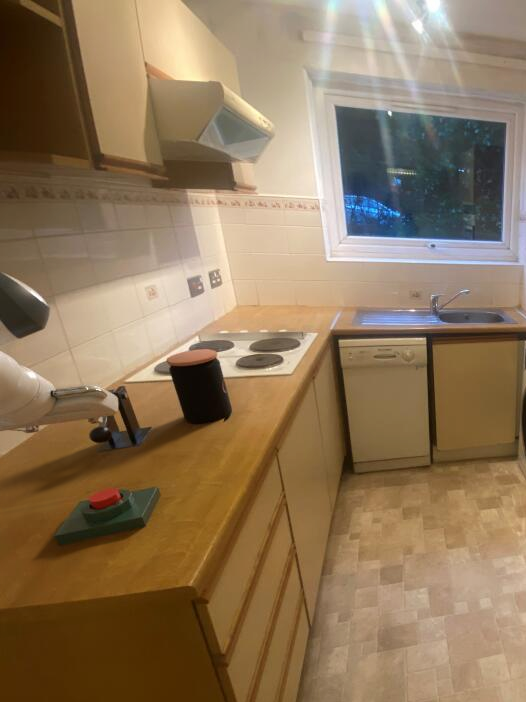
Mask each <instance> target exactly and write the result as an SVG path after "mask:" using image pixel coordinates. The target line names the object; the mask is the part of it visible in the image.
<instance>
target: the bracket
mask: <svg viewBox="0 0 526 702" xmlns="http://www.w3.org/2000/svg"><path fill="white" fill-rule="evenodd" d="M101 388H102V389H104V388H103V387H101ZM113 394H114V395H115V396H117V398H118V411H119V414H120V416H121V419H122V422H123V424H124V427H125V429H126V430H120V428H119V425H118V422H117V420H116V418H115V415H112V416H110V418H109V422H108V425H107V428H109V429H110V430H111V432H112V437H111V438H110V440H108V441H107V442H104V443H102V445H101V446H100V447H99V449H97V451H96V453H103V452H108V451H109V452H110V451H115V450H120V449H126V448H127V449H128V448H131V447H138V446H141V445H142V444H143V442H144V440H145V439H146V437H147V436H148V434H149V433H150V431H151V430H152V429H153V426H147V427H140V424H139V422H138V419H137V416H136V413H135V410H134V408H133V405H132V402H131V400H130V397H129V394H128V390H127V388H126V386H125V385H120V386H118V387H117V388H116V389H115V391H114V392H113Z"/></svg>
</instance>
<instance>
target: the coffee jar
mask: <svg viewBox="0 0 526 702" xmlns="http://www.w3.org/2000/svg"><path fill="white" fill-rule="evenodd" d="M217 357H218V352H217V350H215V349H208V348H207V349H204V348H203V349H192V350H187V351H181V352H178V353H175V354H172V355H170V356H169V357H167V358H166V359H165V360H166V363H167V364H168V365H169V366H170V367H169V370H168V371H169V374H170V377H171V380H172V382H173V386H174V390H175V393H176V396H177V399H178V402H179V405H180V408H181V411H182V415H183V419H184V421H185V422H186V423H187V424H190V425H205V424H211V423H214V422H218V421H220V420H223V422H225V421H227V420H229V418H230V417H231V415H232V413H233V407H232V403H231V399H230V397H229V392H228V389H227V384H226V380H225V378H224V373H223V370H222V366H221V362H220V360H219V359H217Z"/></svg>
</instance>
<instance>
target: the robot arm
mask: <svg viewBox="0 0 526 702" xmlns="http://www.w3.org/2000/svg"><path fill="white" fill-rule="evenodd" d="M50 313H51V307H49V305H48V303H47V302H46V300H45V299H44V298H43V296H42V295H41V294H39V293H38V292H37V291H36V290H35V289H33V288H32V287H31V286H30V285H27V284H26V283H25V282H23V281H21V280H19V279H17V278H15V277H13V276H11V275H9V274H7V273H6V272H3V271H1V270H0V349H1V348H3V347H5V346H8V345H10V344H11V343H13V342H15V341H17V340H20V339H24V338H26V337H28V336H30V335H33V334H36V333H38V332H41V331H42V330H45V328H46V326H47V324H48V322H49V318H50ZM102 388H103V387H99V386H96V385H89V384H87V385H75V386H67V387H58V388H56V387H55V386H54V384H53V383H52V382H50V381H49V380H48V379H46V378H44V377H42V376H41V375H39V374H38V373H37V372H35V371H33V370H32V369H30V368H29V367H27V366H24V365H21V364H19V363H18V362H17V360H15V359H14V358H13V357H11V356H10V355H8V354H7V353H5V352H3V351H1V350H0V432H4V431H12V432H13V431H15V432H23V433H25V434H33V433H38V432H39V428H40V427H41V426H47V425H55V424H62V423H69V422H75V421H77V422H78V421H84V420H87V422H88V423H89V424H91V425H93V424H99V423H102V422H103V417H105V416H112V415H114V416H115V415H116V414H117V413H118V411H119V409H118V398H117V396H115V395H114V394H112V393H110V392H108V391H106V390H107V389H105V388H103V389H102Z"/></svg>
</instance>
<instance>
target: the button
mask: <svg viewBox="0 0 526 702" xmlns="http://www.w3.org/2000/svg"><path fill="white" fill-rule="evenodd" d="M88 500H89V501H90V503H91V506H92V508H93V509H102V508H106V507H109V506H111V505H114V504H116V503H117V502H118V501H120V500H121V495H120V493H119V490H118V488H116V487H110V488H105V489H101V490H99V491H97V492H95V493H93V494H92V495H90V496H89V498H88Z"/></svg>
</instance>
